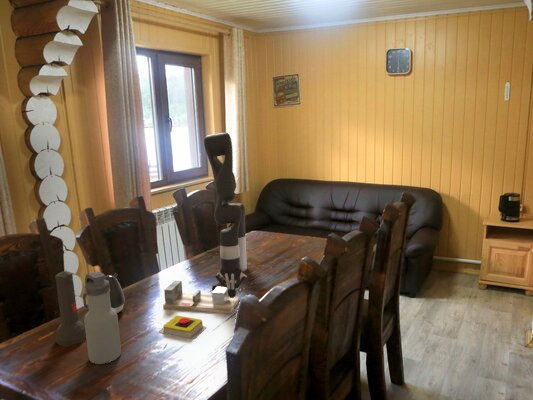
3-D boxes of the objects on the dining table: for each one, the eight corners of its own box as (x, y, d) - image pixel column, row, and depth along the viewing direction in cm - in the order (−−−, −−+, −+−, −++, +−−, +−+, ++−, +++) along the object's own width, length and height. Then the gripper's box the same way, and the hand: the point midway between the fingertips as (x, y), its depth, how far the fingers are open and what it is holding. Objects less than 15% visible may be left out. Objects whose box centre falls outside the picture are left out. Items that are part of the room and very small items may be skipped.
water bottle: (83, 356, 140) (73, 274, 134) (112, 345, 146) (103, 266, 141) (96, 369, 133) (86, 282, 127) (126, 356, 139) (118, 273, 134)
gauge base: (176, 296, 185) (174, 279, 183) (239, 300, 179) (238, 283, 177) (163, 308, 173) (162, 290, 172) (230, 313, 167) (229, 295, 166)
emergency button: (192, 329, 148) (156, 322, 154) (193, 340, 149) (157, 333, 154) (206, 317, 156) (171, 311, 162) (207, 328, 157) (172, 322, 163)
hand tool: (219, 295, 185) (218, 284, 184) (211, 293, 187) (211, 283, 186) (242, 280, 201) (242, 270, 200) (235, 278, 203) (235, 269, 202)
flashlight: (49, 345, 148) (74, 348, 145) (40, 275, 143) (65, 277, 140) (70, 331, 157) (93, 334, 154) (61, 265, 152) (85, 267, 150)
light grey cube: (217, 298, 177) (216, 286, 176) (229, 298, 176) (228, 287, 175) (212, 304, 171) (211, 292, 170) (224, 305, 170) (224, 293, 169)
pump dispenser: (131, 307, 175) (127, 271, 172) (115, 319, 165) (111, 281, 162) (109, 305, 178) (105, 270, 175) (92, 316, 168) (88, 279, 165)
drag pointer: (198, 296, 179) (198, 289, 178) (200, 296, 179) (200, 290, 178) (189, 306, 170) (189, 299, 169) (192, 306, 170) (191, 299, 169)
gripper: (249, 253, 171) (250, 294, 174) (217, 251, 174) (219, 292, 177) (243, 259, 164) (245, 302, 167) (210, 257, 167) (213, 300, 170)
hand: (232, 297), depth 172 cm, fingers closed
